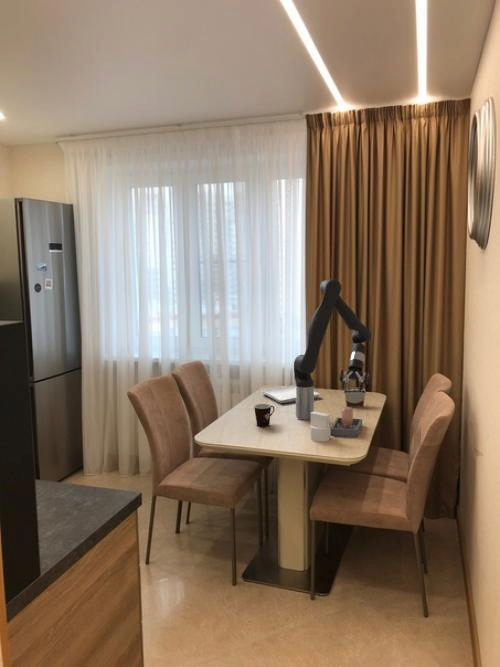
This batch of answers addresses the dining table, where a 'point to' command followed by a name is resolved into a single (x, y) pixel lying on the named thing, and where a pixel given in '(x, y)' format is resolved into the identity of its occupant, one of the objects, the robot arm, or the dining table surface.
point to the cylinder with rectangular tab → (319, 427)
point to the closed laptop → (284, 393)
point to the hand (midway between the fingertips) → (351, 389)
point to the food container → (354, 397)
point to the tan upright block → (347, 417)
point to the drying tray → (338, 431)
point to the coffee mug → (263, 414)
